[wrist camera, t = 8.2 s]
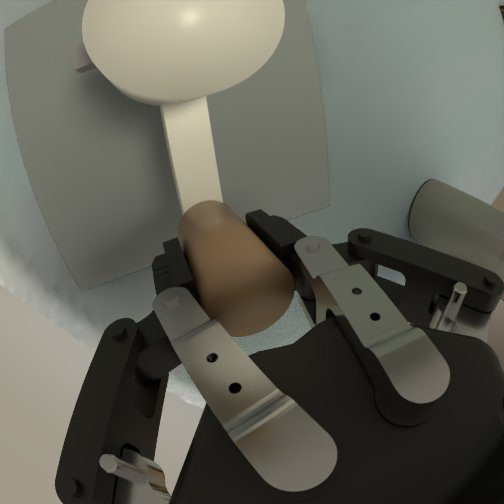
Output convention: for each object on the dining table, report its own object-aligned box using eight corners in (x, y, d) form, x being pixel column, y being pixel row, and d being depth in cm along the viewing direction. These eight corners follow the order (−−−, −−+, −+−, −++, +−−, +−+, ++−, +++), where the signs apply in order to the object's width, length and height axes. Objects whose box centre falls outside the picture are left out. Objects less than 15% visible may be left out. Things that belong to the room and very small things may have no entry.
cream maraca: (81, 14, 7) (41, -59, 1) (245, -11, 9) (329, -74, 3) (135, 262, 15) (143, 369, 9) (273, 221, 17) (353, 291, 11)
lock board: (287, -27, 12) (322, -49, 8) (320, 200, 24) (357, 221, 20) (12, 33, 7) (-18, 17, 3) (84, 281, 19) (75, 323, 15)
